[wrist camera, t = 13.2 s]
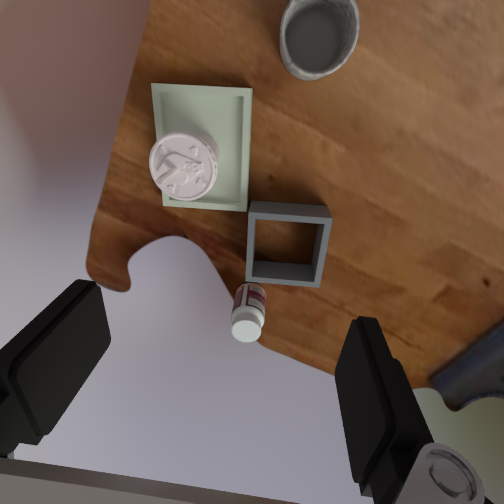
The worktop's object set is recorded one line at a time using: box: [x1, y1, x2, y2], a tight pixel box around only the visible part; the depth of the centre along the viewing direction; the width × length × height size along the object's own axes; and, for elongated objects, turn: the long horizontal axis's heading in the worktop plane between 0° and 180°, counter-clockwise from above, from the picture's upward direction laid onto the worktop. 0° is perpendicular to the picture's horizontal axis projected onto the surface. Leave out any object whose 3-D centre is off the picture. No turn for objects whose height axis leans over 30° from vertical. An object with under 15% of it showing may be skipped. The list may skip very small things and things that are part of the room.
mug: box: [280, 0, 360, 81], centre depth 27 cm, size 10×7×7 cm
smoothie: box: [149, 131, 220, 201], centre depth 29 cm, size 6×6×14 cm
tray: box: [151, 83, 253, 212], centre depth 36 cm, size 14×11×2 cm
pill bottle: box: [231, 283, 266, 342], centre depth 43 cm, size 5×5×8 cm
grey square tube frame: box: [246, 200, 333, 288], centre depth 39 cm, size 10×10×4 cm
